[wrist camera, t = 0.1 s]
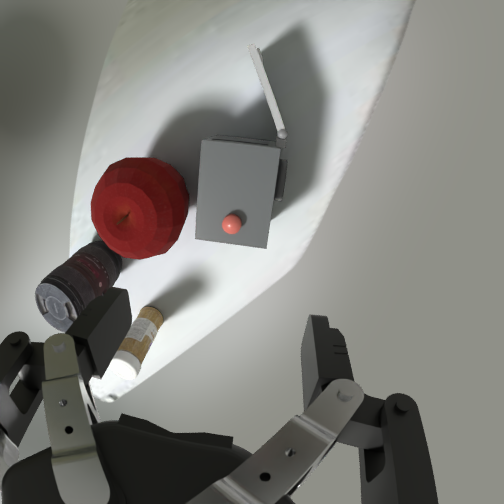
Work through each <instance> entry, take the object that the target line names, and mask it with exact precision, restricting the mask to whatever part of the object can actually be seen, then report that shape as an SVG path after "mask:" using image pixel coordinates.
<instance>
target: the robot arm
mask: <svg viewBox="0 0 504 504" xmlns="http://www.w3.org/2000/svg"><path fill="white" fill-rule="evenodd" d="M131 324H132V314H131V308H130V302H129V295H128V291H127V290H126V289H121V288H116V287H110V288H109V289H108V290H107V291H106V293H105V294H104V295H103V296H98V297H97V298H95V299H93V300H92V301H90V303H89V304H88V305H87V306H86V307H85V309H84V310H83V311H82V312H81V315H79V316H78V317H77V318H76V320H75V321H74V322H73V323H72V325H71V326H70V327H69V328H68V330H67V331H66V332H65V333H58V334H54V335H52V336H50V337H49V338H48V339H47V340H46V341H45V343H42V342H40V343H39V342H31V341H30V339H29V336H28V335H27V334H26V333H24V332H20V331H19V332H14V333H11V334H10V335H8V336H7V337H6V338H5V339H4V340H3V342H2V343H1V344H0V492H1V493H2V504H295V503H294V502H293V501H292V500H291V498H290V497H291V496H292V495H293V494H294V493H295V492H296V491H297V490H298V489H299V488H300V486H301V485H302V484H303V483H304V482H305V481H306V480H307V478H308V477H309V476H310V475H311V473H312V472H313V471H314V470H315V469H316V468H317V466H318V465H319V464H320V463H321V462H322V460H323V459H324V458H325V457H326V456H327V454H328V453H329V452H330V451H331V449H332V448H333V447H334V446H335V444H336V443H337V442H339V443H343V444H347V445H351V446H355V447H358V448H359V460H360V461H359V462H360V478H361V501H362V504H438V498H437V492H436V486H435V480H434V475H433V470H432V465H431V460H430V455H429V451H428V446H427V442H426V437H425V433H424V429H423V425H422V421H421V417H420V414H419V410H418V406H417V404H416V402H415V401H414V400H413V399H412V398H411V397H409V396H408V395H405V394H401V393H396V394H392V395H390V396H389V397H388V398H387V399H386V400H382V399H378V398H374V397H371V396H368V395H366V394H364V392H363V389H362V388H361V387H360V386H359V385H358V384H357V383H356V382H354V378H353V374H352V369H351V364H350V360H349V355H348V351H347V348H346V343H345V339H344V336H343V335H342V334H341V333H340V331H339V330H338V329H335V328H329V322H328V318H327V316H320V315H309V317H308V321H307V325H306V329H305V333H304V337H303V341H302V347H301V365H302V380H303V381H302V382H303V402H304V412H303V414H301V415H300V416H298V415H296V416H294V417H293V418H292V419H290V421H288V422H287V423H286V424H285V425H284V426H283V427H282V428H281V429H280V430H279V431H278V432H277V433H276V434H275V435H274V436H273V437H272V438H271V439H269V440H268V441H267V442H266V443H265V444H264V445H263V446H262V447H261V448H260V449H259V450H257V451H256V452H255V453H254V454H251V453H250V452H248V451H247V450H245V449H243V448H241V447H239V446H236V445H234V444H233V437H230V436H223V435H217V434H211V433H205V432H204V433H172V432H169V431H167V430H166V429H163V428H161V427H159V426H157V425H155V424H153V423H151V422H149V421H147V420H144V419H140V418H136V417H132V416H129V415H125V414H121V416H120V418H119V420H112V421H104V422H101V420H100V417H99V414H98V411H97V407H96V404H95V400H94V397H93V393H92V389H91V385H90V383H89V381H90V379H91V377H94V378H98V379H101V378H102V377H103V375H104V373H105V371H106V370H107V368H108V366H109V364H110V362H111V361H112V359H113V357H114V355H115V354H116V352H117V350H118V349H119V347H120V345H121V343H122V342H123V340H124V338H125V337H126V335H127V333H128V332H129V330H130V328H131ZM17 375H18V376H19V378H20V380H19V381H18V383H17V384H16V386H15V388H14V389H13V391H12V392H11V394H10V395H9V388H10V385H11V384H12V382H13V381H14V379H15V378H16V376H17ZM42 400H43V401H44V408H45V414H46V422H47V428H48V434H49V439H50V444H51V447H49V448H47V449H45V450H42V451H40V452H38V453H36V454H34V455H32V456H30V457H27V458H26V459H23V460H21V461H19V451H18V446H19V444H20V442H21V440H22V438H23V436H24V434H25V432H26V430H27V428H28V426H29V424H30V422H31V420H32V418H33V416H34V414H35V413H36V411H37V409H38V407H39V405H40V403H41V401H42Z"/></svg>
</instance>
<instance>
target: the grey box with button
mask: <svg viewBox="0 0 504 504" xmlns="http://www.w3.org/2000/svg"><path fill="white" fill-rule="evenodd" d="M285 147H286V138H284V139H281V138H279V137H278V135H277V137H276V142H275V141H267V140H260V139H251V138H242V137H233V136H222V135H216V136H213V137H210V138H207V139H204V140H202V142H201V154H200V166H199V180H198V195H197V213H196V233H195V239H198V240H206V241H213V242H221V243H228V244H235V245H243V246H250V247H257V248H264V249H266V248H267V241H268V234H269V227H270V221H271V214H272V207H273V200H278V201H282V197H283V192H284V186H285V179H286V170H287V160H283V159H279V157H280V150H281V148H285Z"/></svg>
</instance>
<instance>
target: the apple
mask: <svg viewBox="0 0 504 504" xmlns="http://www.w3.org/2000/svg"><path fill="white" fill-rule="evenodd" d="M188 208H189V193H188V191H187V188H186V185H185V181H184V178H183V177H182V176H181V175H180V174H179V173H178V171H177V170H176V169H175V168H174V167H173V166H171V165H170V164H168V163H165V162H163V161H161V160H159V159H156V158H124V159H122V160H120V161H117V162H115V163H113V164H111V165H109V167H108V168H107V170H106V171H105V172H104V174H103V175H102V177H101V178H100V180H99V181H98V183H97V185H96V187H95V189H94V193H93V196H92V200H91V218H92V222H93V224H94V226H95V228H96V230H97V232H98V235H99V236H100V237H101V238H102V240H103V241H104V242H105V243H106V245H107V246H108V247H109V248H110V249H111V250H113V251H115V252H116V253H118V254H119V255H121V256H122V257H124V258H132V259H144V258H149V257H153V256H157V255H160V254H164V253H166V252H167V251H168V250H169V249H170V248H171V247H172V246H173V244H174V243H175V242H176V241H177V240H178V238H179V235H180V233H181V230H182V228H183V225H184V223H185V220H186V217H187V215H188Z"/></svg>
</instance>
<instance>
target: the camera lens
mask: <svg viewBox="0 0 504 504" xmlns="http://www.w3.org/2000/svg"><path fill="white" fill-rule="evenodd" d="M121 268H122V260H121V256H120V255H119V254H118V253H116V252H115V251H113V250H111V249H110V248H109V247H108V246H107V245H106V243H105V242H104V241H96V242H93V243H89V244H88V245H86V246H84V247H82V248H81V249H79V250H78V251H77V252H76V253H75V254H74V255H73V256H72V257H71V258H69V259H68V260H67V261H66V262H65V263H63V264H62V265H60V266H59V267H57V268H56V269H54V270H53V271H52V272H51V273H50V274H49V275H47V276H46V277H45V278H44V279H43V280H42V281H41V283H40V284H39V285H38V287H37V288H36V292H35V298H36V303H37V306H38V309H39V311H40V312H41V314H42V315H43V317H44V318H45V320H46V321H47V322H48V323H49V324H50V325H52V326H53V327H54V328H56V329H57V330H60V331H62V332H66V331H67V330H68V328H69V327H70V326H71V325H72V323H73V322H74V321H75V320H76V318H77V317H78V316H79V315H81V312H82V311H83V310H84V309H85V307H86V306H87V305H88V304H89V303H90V301H92V300H93V299H95V298H97V297H98V296H103V295H104V294H105V293H106V291H107V290H108V289H109V288H110V287H112V286H113V285H114V283H115V281H116V280H117V279H118V277H119V274H120V270H121Z"/></svg>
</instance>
